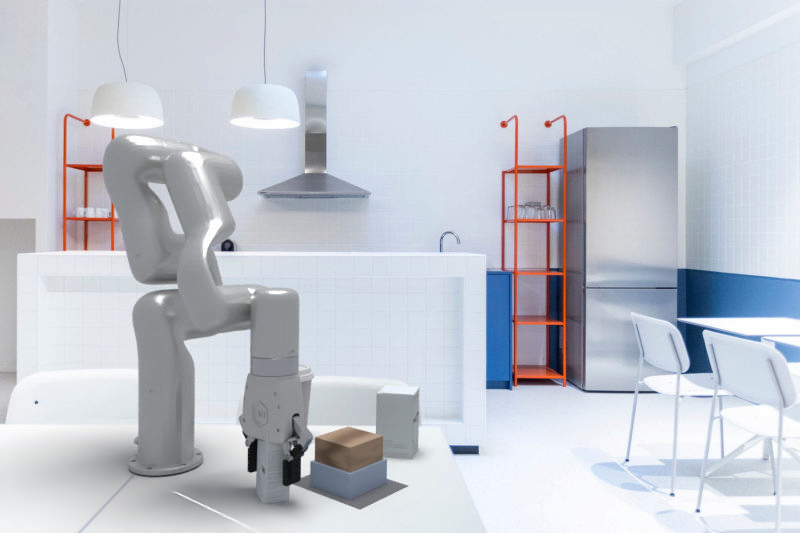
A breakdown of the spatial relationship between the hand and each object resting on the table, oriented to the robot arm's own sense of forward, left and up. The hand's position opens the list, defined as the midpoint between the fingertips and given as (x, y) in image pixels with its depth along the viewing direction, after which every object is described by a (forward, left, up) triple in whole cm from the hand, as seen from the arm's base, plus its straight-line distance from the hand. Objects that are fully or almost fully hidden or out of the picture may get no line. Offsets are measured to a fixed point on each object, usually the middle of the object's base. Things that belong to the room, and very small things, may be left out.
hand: (273, 476), depth 96 cm
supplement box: (+2, +29, -4) cm, 29 cm away
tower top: (+6, +11, +1) cm, 13 cm away
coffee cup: (-20, +21, -4) cm, 29 cm away
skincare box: (0, 0, -4) cm, 4 cm away
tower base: (+6, +11, -3) cm, 13 cm away
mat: (+6, +11, -3) cm, 13 cm away
